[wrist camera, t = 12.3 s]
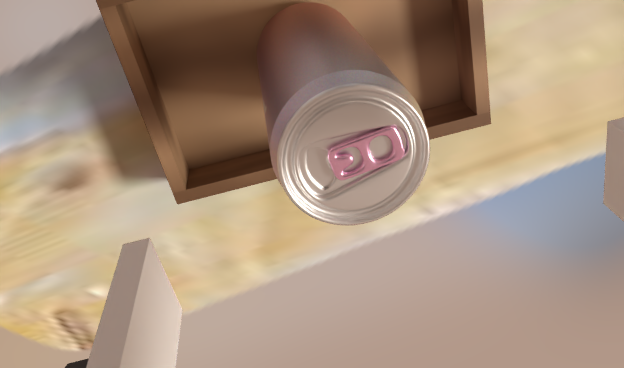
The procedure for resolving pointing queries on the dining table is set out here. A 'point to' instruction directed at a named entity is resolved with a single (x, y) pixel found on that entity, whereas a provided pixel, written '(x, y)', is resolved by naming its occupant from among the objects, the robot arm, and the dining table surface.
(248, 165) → the crate
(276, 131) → the beverage can
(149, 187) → the dining table surface
